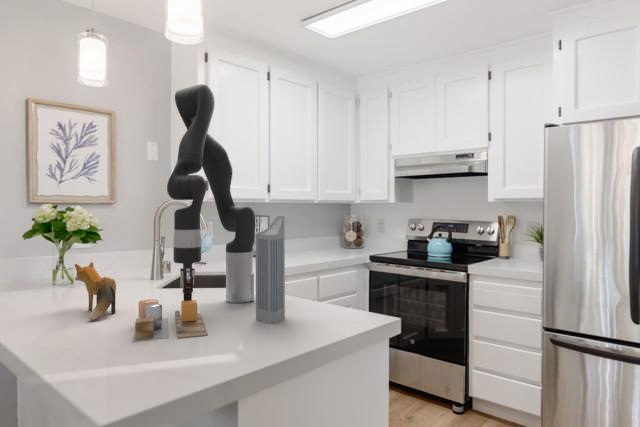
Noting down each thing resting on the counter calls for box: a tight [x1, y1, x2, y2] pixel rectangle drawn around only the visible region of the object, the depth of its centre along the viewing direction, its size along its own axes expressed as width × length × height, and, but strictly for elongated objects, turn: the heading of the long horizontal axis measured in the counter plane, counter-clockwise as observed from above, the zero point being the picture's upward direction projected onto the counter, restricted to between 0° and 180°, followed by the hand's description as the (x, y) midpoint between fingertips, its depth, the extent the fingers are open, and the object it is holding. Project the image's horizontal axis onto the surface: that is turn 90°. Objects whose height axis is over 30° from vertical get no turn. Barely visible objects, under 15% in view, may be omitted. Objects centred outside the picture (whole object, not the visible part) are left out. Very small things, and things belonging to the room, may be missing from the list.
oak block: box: [134, 317, 154, 339], centre depth 106 cm, size 4×4×4 cm
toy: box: [74, 261, 117, 321], centre depth 133 cm, size 11×29×15 cm, turn 43°
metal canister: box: [146, 303, 163, 330], centre depth 113 cm, size 4×4×6 cm
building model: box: [255, 215, 286, 325], centre depth 126 cm, size 8×8×30 cm
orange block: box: [180, 299, 198, 322], centre depth 120 cm, size 4×4×5 cm
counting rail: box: [174, 310, 209, 339], centre depth 116 cm, size 23×7×3 cm, turn 20°
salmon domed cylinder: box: [138, 298, 159, 318], centre depth 118 cm, size 5×5×6 cm
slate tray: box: [132, 317, 170, 343], centre depth 113 cm, size 8×21×1 cm, turn 20°
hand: (187, 306), depth 123 cm, fingers closed
